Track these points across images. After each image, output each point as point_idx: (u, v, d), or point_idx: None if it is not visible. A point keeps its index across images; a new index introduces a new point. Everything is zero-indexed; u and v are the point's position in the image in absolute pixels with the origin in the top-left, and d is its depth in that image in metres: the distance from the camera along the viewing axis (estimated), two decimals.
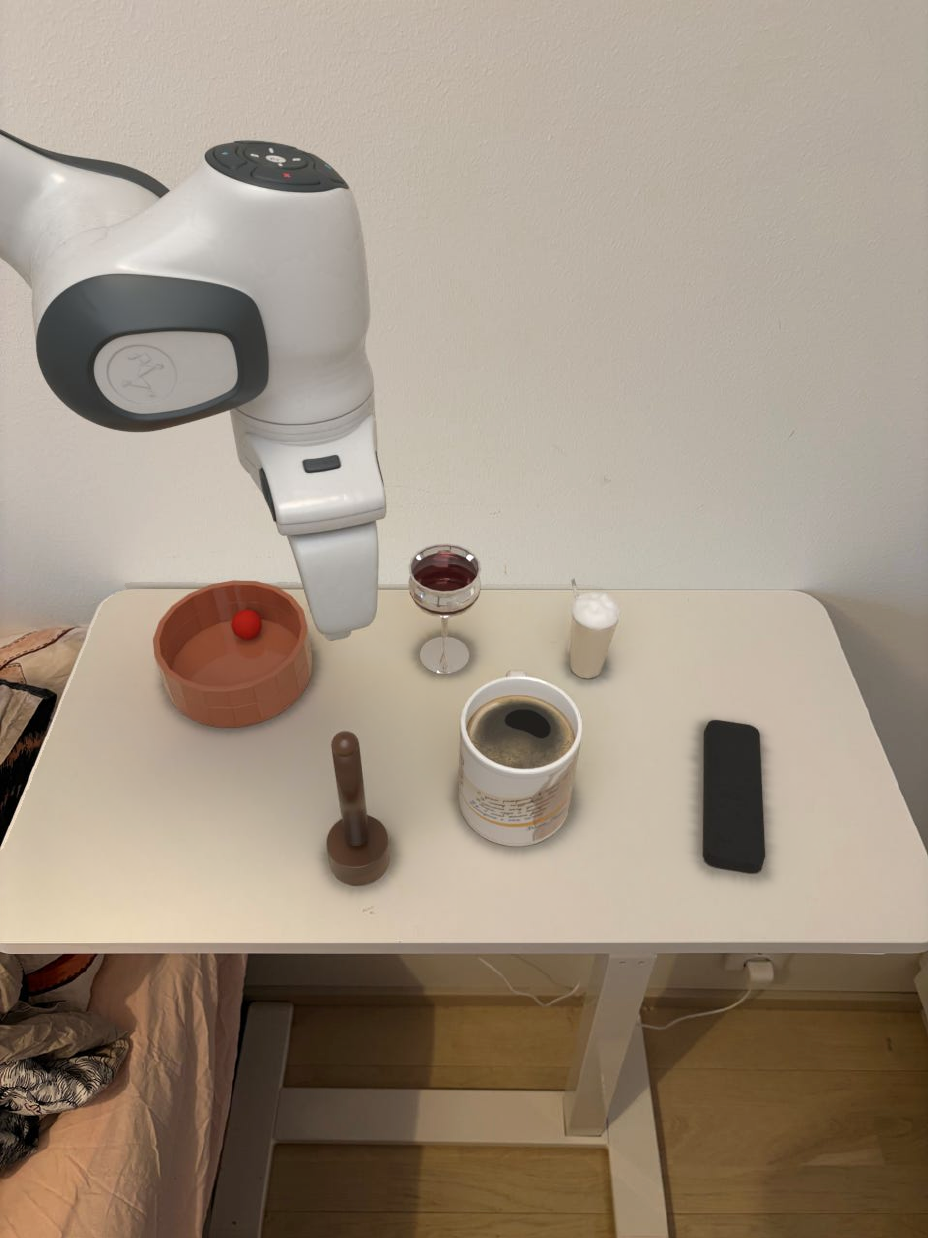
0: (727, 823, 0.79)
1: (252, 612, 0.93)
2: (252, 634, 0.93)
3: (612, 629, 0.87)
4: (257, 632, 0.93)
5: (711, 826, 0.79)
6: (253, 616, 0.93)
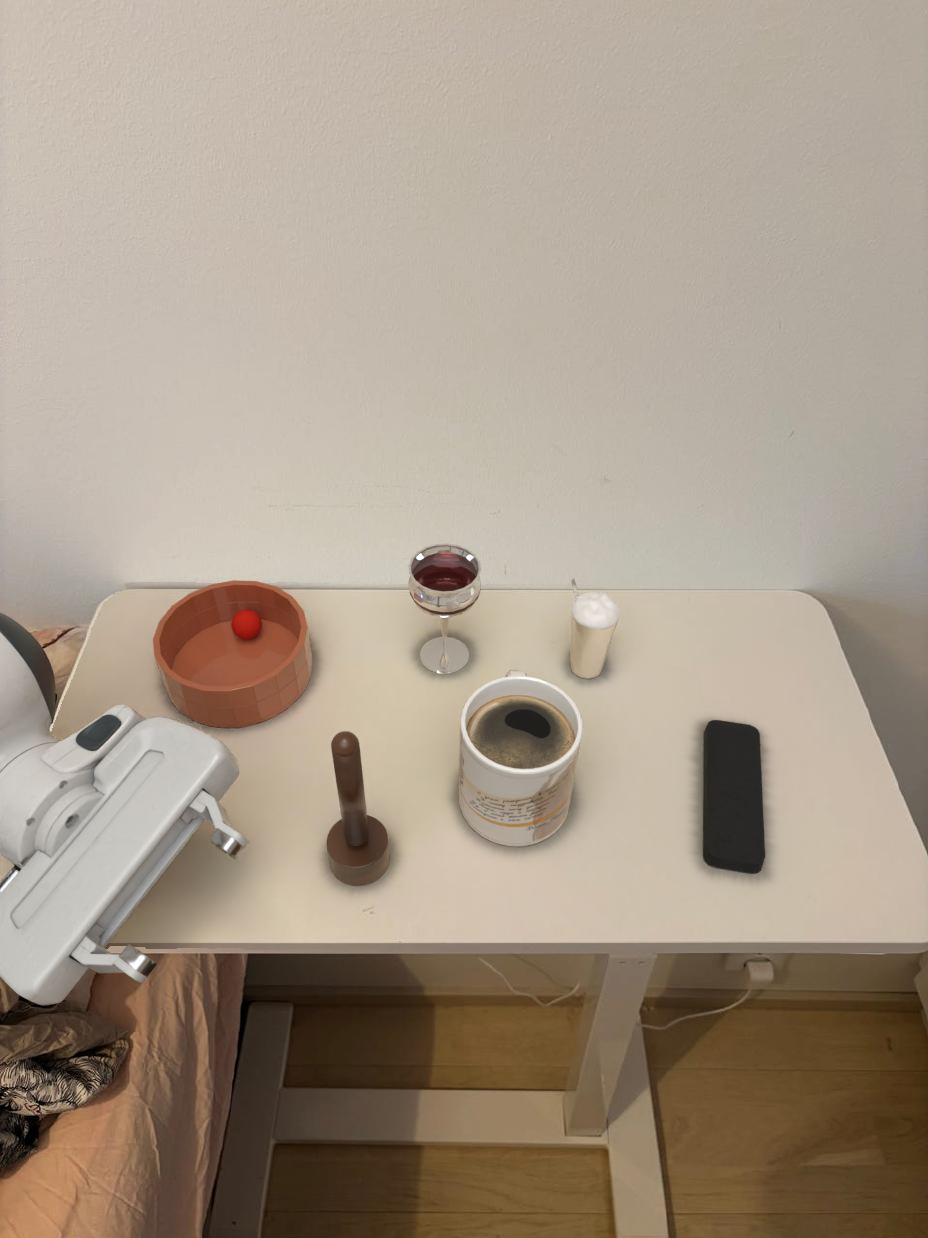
0: (727, 823, 0.79)
1: (252, 612, 0.93)
2: (252, 634, 0.93)
3: (612, 629, 0.87)
4: (257, 632, 0.93)
5: (711, 826, 0.79)
6: (253, 616, 0.93)
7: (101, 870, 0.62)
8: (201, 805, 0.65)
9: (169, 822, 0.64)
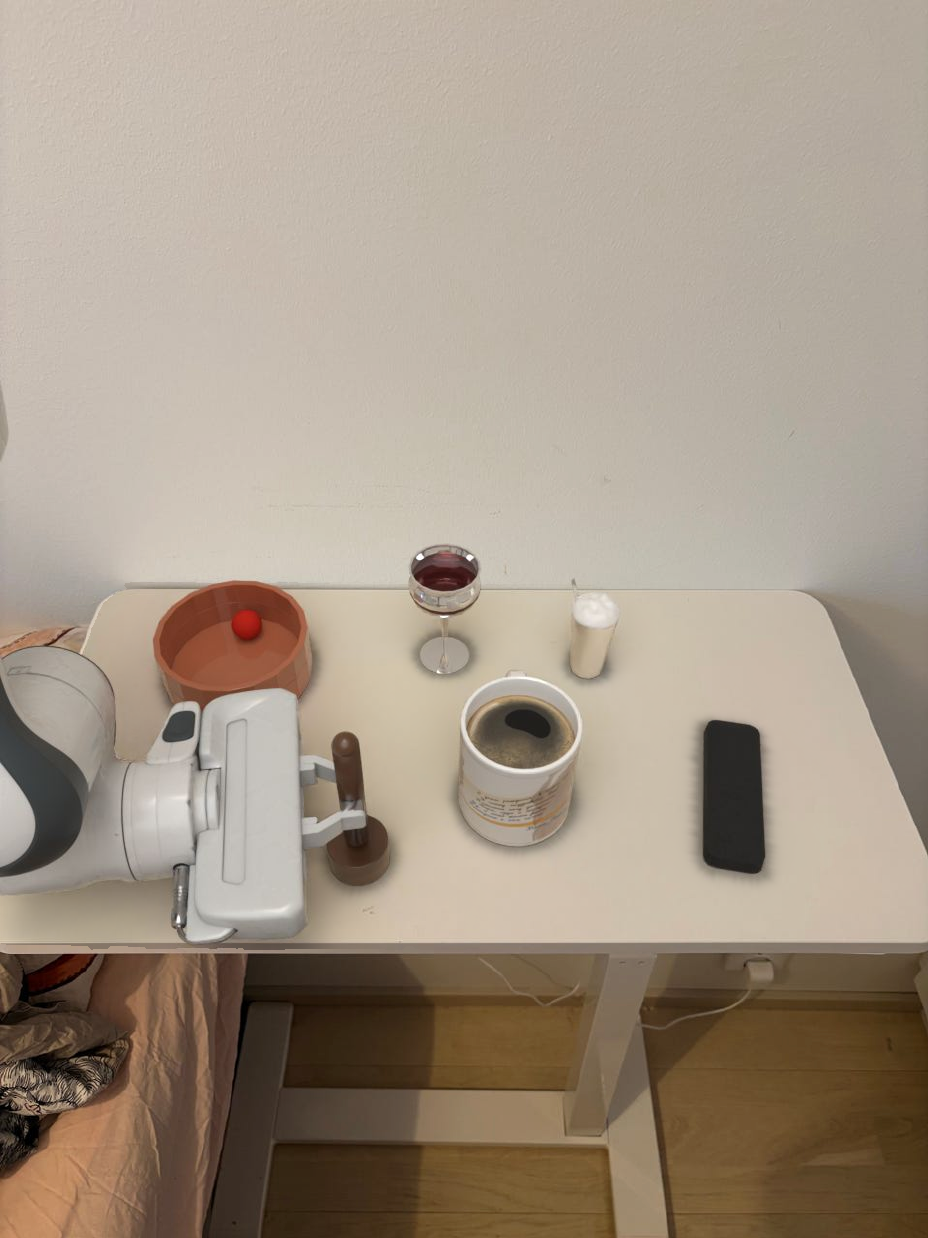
0: (727, 823, 0.79)
1: (252, 612, 0.93)
2: (252, 634, 0.93)
3: (612, 629, 0.87)
4: (257, 632, 0.93)
5: (711, 826, 0.79)
6: (253, 616, 0.93)
7: (274, 807, 0.68)
8: (309, 764, 0.72)
9: (297, 752, 0.72)
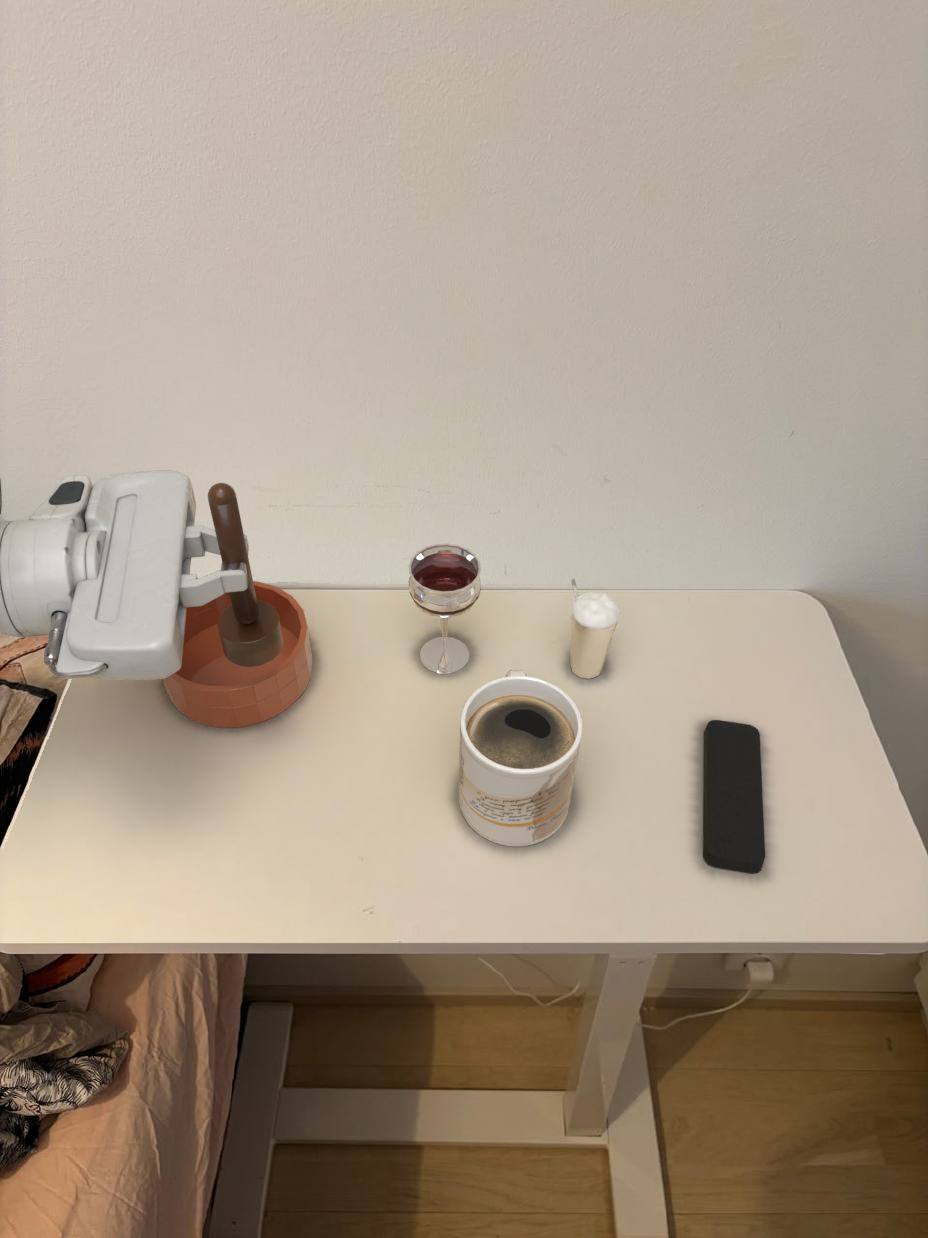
0: (727, 823, 0.79)
1: None
2: None
3: (612, 629, 0.87)
4: None
5: (711, 826, 0.79)
6: None
7: (154, 562, 0.69)
8: (195, 533, 0.73)
9: (183, 521, 0.73)
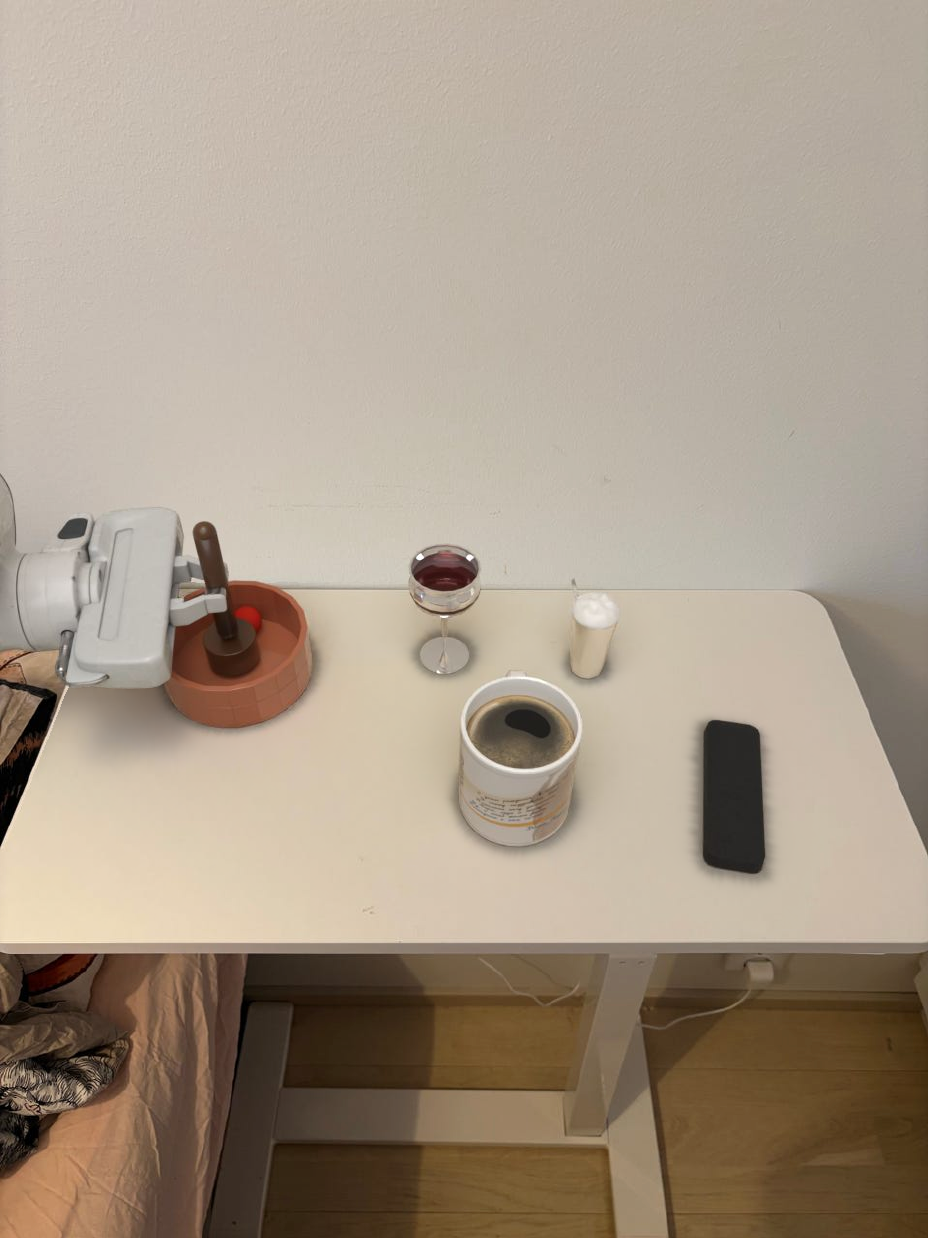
0: (727, 823, 0.79)
1: (252, 607, 0.94)
2: None
3: (612, 629, 0.87)
4: (256, 626, 0.93)
5: (711, 826, 0.79)
6: (253, 610, 0.93)
7: (148, 588, 0.82)
8: (182, 562, 0.85)
9: (172, 552, 0.86)
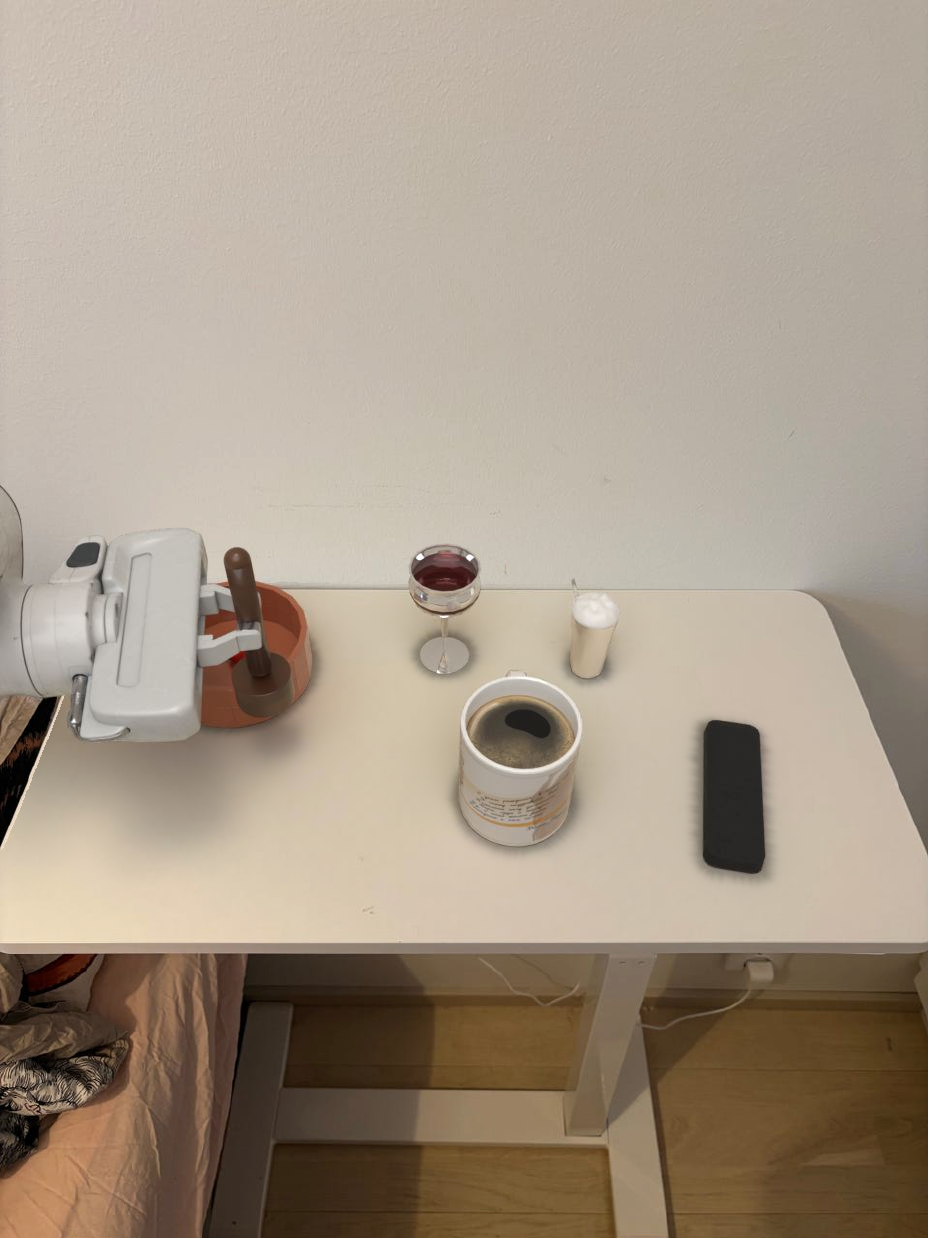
0: (727, 823, 0.79)
1: None
2: None
3: (612, 629, 0.87)
4: None
5: (711, 826, 0.79)
6: None
7: (171, 624, 0.71)
8: (209, 592, 0.75)
9: (197, 580, 0.75)
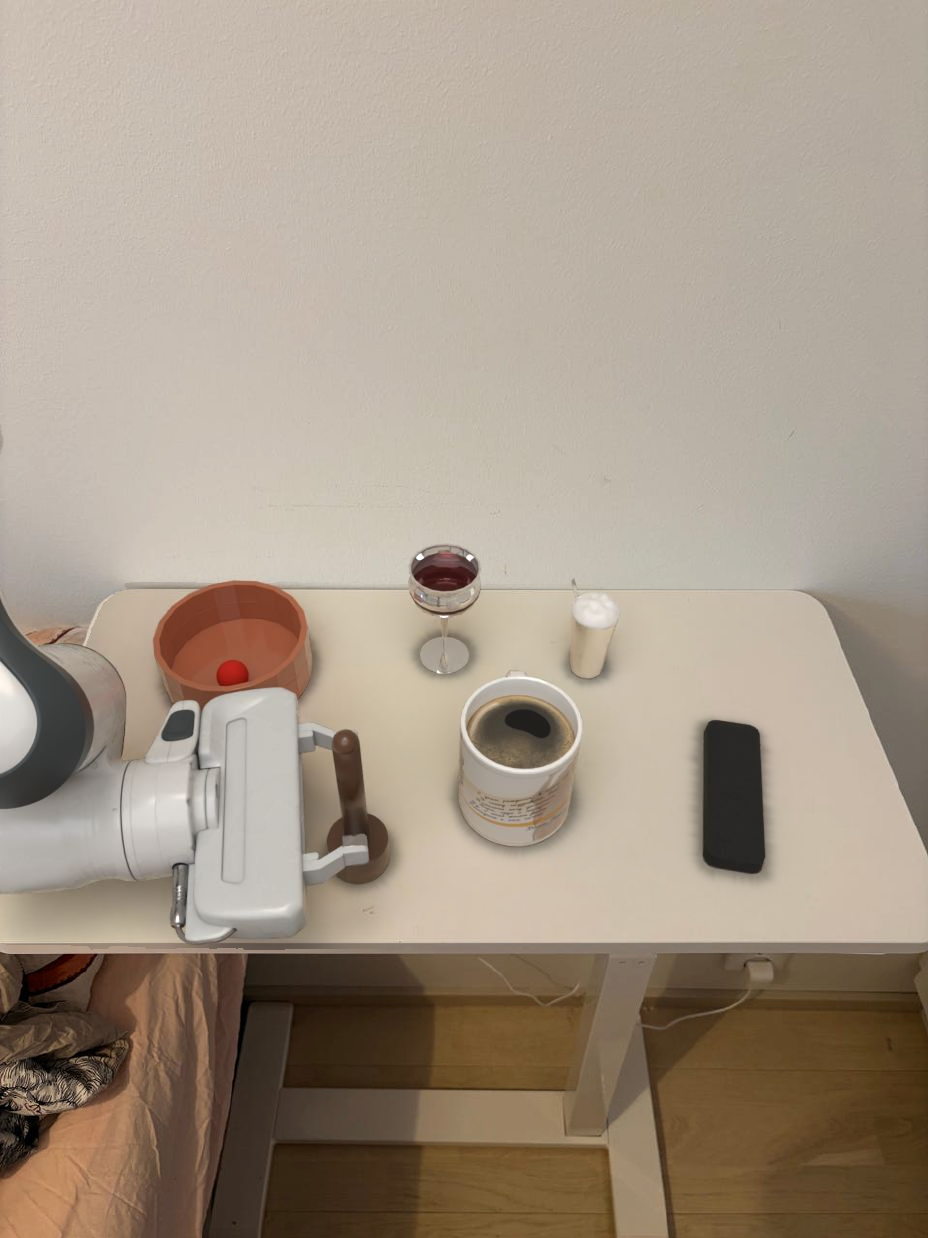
0: (727, 823, 0.79)
1: None
2: (239, 664, 0.88)
3: (612, 629, 0.87)
4: (243, 669, 0.88)
5: (711, 826, 0.79)
6: None
7: (274, 806, 0.68)
8: (307, 731, 0.74)
9: (296, 751, 0.72)
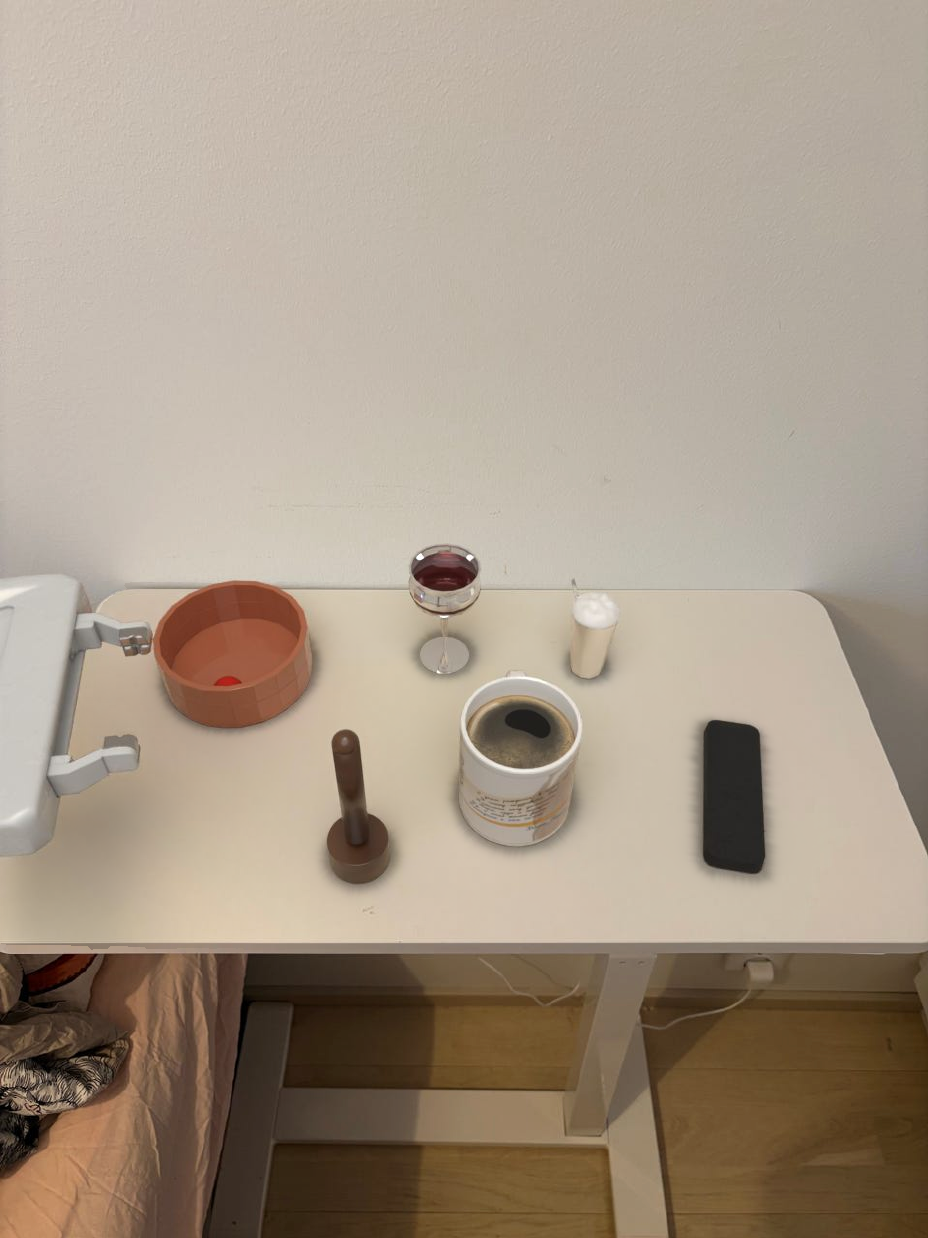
0: (727, 823, 0.79)
1: None
2: None
3: (612, 629, 0.87)
4: None
5: (711, 826, 0.79)
6: (236, 680, 0.87)
7: (25, 702, 0.56)
8: (87, 622, 0.62)
9: (67, 642, 0.60)
